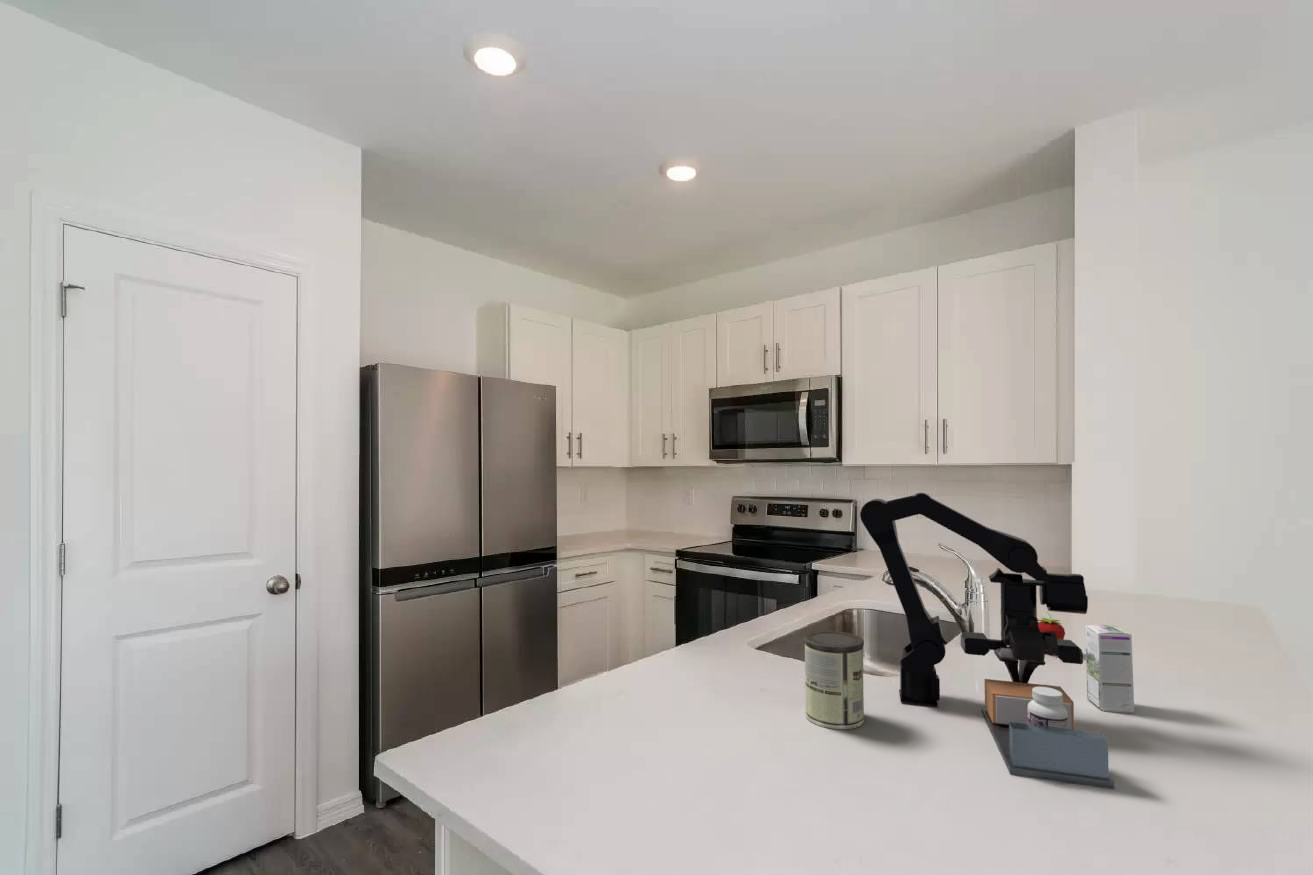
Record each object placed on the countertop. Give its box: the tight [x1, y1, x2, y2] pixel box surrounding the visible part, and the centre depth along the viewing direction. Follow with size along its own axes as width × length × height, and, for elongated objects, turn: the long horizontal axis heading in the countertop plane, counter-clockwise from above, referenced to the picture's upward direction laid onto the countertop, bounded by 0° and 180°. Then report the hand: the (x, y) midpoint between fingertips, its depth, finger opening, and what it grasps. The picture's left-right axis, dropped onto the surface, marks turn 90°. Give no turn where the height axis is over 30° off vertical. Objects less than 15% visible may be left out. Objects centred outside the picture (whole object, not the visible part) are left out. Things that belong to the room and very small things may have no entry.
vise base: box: [980, 706, 1115, 790], centre depth 103 cm, size 24×13×6 cm, turn 162°
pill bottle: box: [1027, 687, 1068, 729], centre depth 98 cm, size 5×5×10 cm
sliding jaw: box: [984, 678, 1075, 730], centre depth 110 cm, size 8×12×5 cm, turn 72°
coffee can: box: [803, 630, 865, 730], centre depth 114 cm, size 10×10×14 cm
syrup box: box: [1085, 624, 1135, 714], centre depth 120 cm, size 6×6×14 cm
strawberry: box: [1038, 610, 1066, 640], centre depth 152 cm, size 6×8×10 cm
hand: (1019, 694), depth 115 cm, fingers closed
